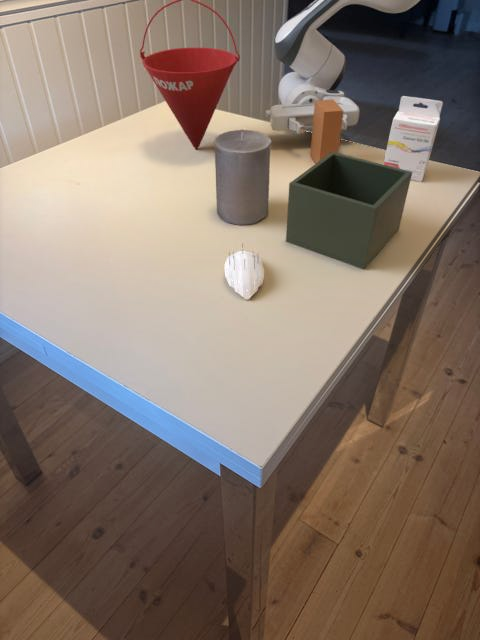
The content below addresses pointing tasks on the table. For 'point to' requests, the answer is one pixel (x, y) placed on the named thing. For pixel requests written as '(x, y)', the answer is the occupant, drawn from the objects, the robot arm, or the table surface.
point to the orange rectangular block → (325, 129)
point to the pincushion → (244, 272)
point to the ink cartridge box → (413, 136)
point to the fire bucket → (191, 81)
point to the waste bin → (346, 208)
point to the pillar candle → (242, 176)
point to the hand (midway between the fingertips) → (322, 128)
